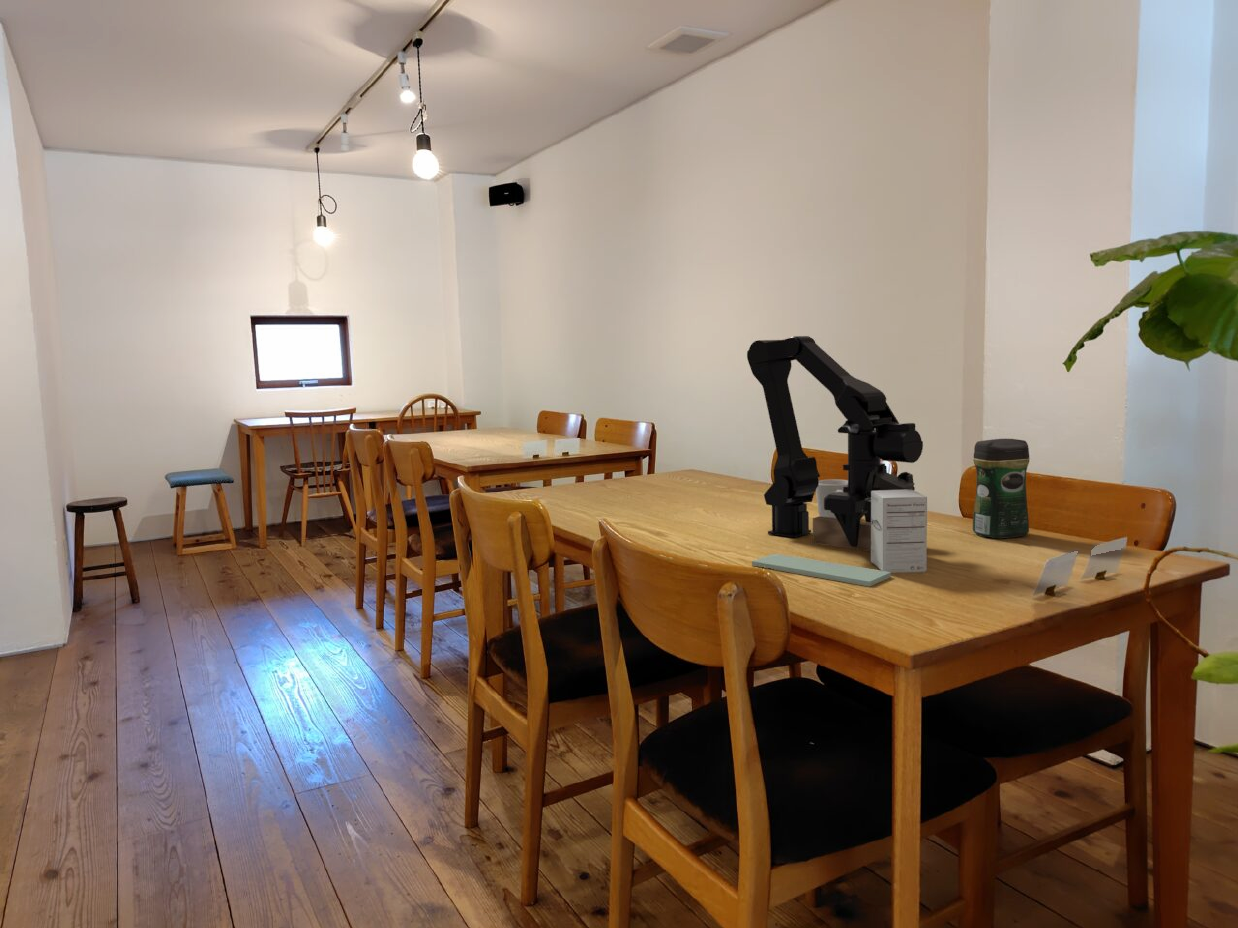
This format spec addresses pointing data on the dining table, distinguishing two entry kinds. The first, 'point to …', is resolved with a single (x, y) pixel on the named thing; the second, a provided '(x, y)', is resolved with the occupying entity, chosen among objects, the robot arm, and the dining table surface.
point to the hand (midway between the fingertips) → (864, 542)
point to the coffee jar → (1001, 488)
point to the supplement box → (899, 530)
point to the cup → (825, 489)
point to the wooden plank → (839, 533)
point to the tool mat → (823, 569)
